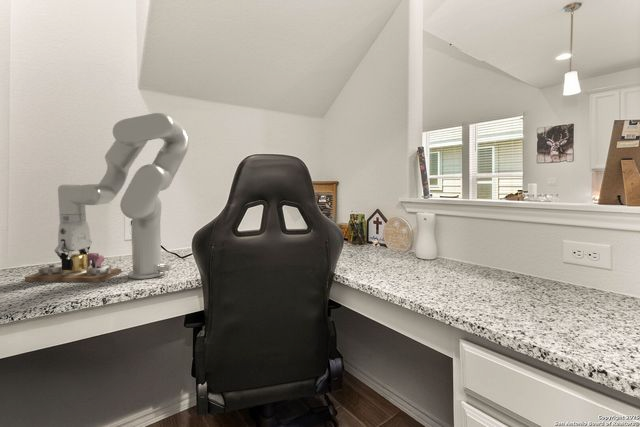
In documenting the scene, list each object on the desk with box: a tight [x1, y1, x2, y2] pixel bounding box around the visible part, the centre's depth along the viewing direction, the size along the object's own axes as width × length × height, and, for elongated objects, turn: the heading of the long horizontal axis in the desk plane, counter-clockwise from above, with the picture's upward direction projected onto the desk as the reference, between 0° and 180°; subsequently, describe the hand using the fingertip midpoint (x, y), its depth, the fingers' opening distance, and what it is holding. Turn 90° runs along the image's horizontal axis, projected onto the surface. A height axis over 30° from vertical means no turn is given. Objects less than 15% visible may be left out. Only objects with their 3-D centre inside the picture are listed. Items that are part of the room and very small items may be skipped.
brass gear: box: [63, 253, 88, 272], centre depth 116 cm, size 7×7×5 cm
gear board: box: [24, 259, 123, 283], centre depth 116 cm, size 26×12×6 cm, turn 91°
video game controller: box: [88, 252, 105, 267], centre depth 129 cm, size 10×5×7 cm, turn 85°
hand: (75, 266), depth 116 cm, fingers closed on brass gear, 7 cm apart
